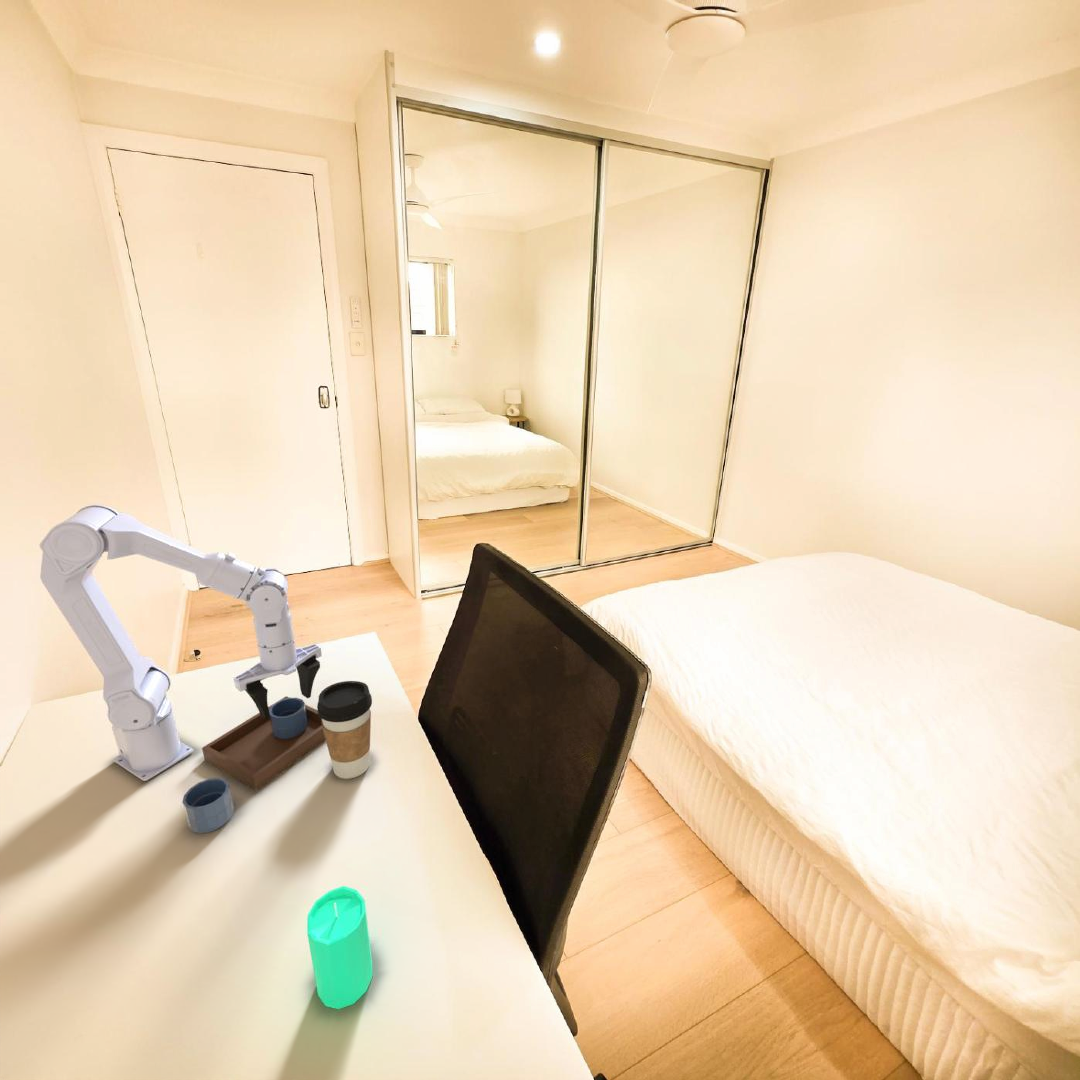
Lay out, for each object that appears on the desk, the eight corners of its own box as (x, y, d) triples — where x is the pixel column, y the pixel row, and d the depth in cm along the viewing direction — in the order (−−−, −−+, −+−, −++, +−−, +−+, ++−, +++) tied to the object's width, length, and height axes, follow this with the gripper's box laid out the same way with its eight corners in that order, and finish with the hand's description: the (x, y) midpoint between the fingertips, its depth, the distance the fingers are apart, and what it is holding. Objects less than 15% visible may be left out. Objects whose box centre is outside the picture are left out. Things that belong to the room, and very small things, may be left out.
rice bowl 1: (180, 825, 78) (173, 799, 77) (219, 797, 83) (213, 772, 82) (204, 841, 76) (198, 815, 74) (243, 812, 81) (237, 786, 79)
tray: (204, 760, 91) (201, 747, 90) (287, 706, 105) (286, 695, 104) (256, 790, 85) (253, 777, 84) (337, 729, 99) (336, 718, 98)
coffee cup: (362, 788, 86) (354, 712, 81) (315, 779, 87) (304, 703, 82) (386, 753, 94) (380, 680, 89) (342, 745, 95) (334, 673, 90)
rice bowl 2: (265, 738, 95) (261, 715, 94) (286, 717, 101) (282, 695, 99) (295, 743, 94) (291, 720, 93) (314, 721, 100) (311, 699, 98)
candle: (326, 952, 63) (314, 878, 59) (378, 948, 63) (370, 875, 59) (309, 1011, 57) (295, 934, 53) (366, 1007, 58) (357, 930, 54)
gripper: (242, 665, 83) (255, 736, 88) (327, 631, 94) (334, 695, 99) (223, 650, 88) (236, 718, 92) (306, 619, 98) (314, 681, 103)
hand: (286, 705), depth 96 cm, fingers open, 7 cm apart
